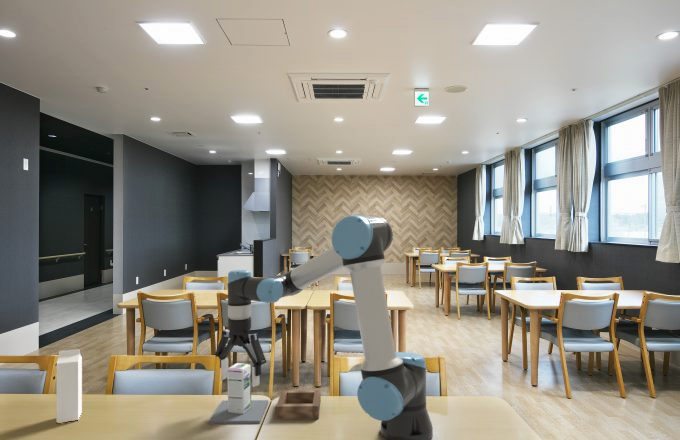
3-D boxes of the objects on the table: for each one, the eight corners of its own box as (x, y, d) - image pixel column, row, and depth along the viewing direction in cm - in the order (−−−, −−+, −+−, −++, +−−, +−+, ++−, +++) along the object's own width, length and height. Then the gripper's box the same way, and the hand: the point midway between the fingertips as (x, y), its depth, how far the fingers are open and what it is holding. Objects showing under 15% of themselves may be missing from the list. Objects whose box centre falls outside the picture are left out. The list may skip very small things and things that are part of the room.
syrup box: (243, 414, 140) (243, 369, 140) (227, 412, 141) (226, 367, 141) (251, 407, 145) (251, 363, 145) (235, 405, 147) (235, 362, 147)
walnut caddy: (320, 401, 151) (320, 390, 151) (318, 418, 138) (318, 406, 138) (281, 402, 151) (281, 390, 151) (276, 419, 138) (276, 406, 138)
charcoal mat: (268, 402, 151) (268, 400, 151) (260, 423, 135) (260, 420, 135) (222, 402, 151) (222, 400, 151) (208, 423, 135) (208, 421, 135)
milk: (61, 416, 141) (60, 348, 142) (82, 413, 143) (82, 346, 144) (56, 424, 136) (56, 353, 136) (78, 421, 138) (78, 351, 138)
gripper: (276, 318, 141) (277, 384, 140) (220, 311, 153) (220, 372, 153) (261, 323, 134) (261, 392, 134) (204, 315, 146) (204, 379, 146)
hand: (240, 382), depth 143 cm, fingers open, 13 cm apart
